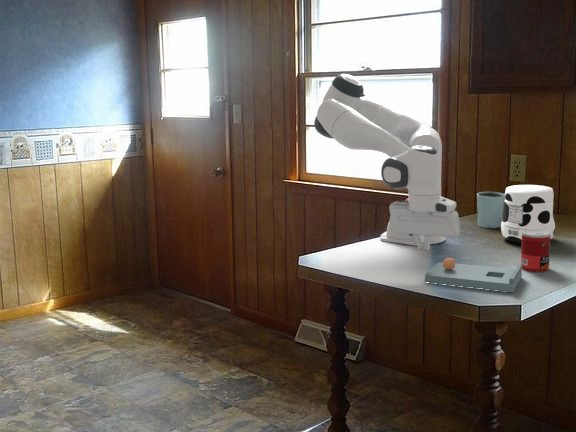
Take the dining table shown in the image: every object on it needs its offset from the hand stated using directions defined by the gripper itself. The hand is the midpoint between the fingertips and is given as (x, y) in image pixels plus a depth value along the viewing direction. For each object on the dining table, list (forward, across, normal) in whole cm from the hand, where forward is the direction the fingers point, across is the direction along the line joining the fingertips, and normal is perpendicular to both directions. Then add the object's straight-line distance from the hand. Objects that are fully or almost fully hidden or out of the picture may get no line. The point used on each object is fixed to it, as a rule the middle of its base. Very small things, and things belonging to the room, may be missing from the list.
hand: (423, 249), depth 200 cm
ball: (+4, +7, 0) cm, 8 cm away
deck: (+8, +14, 0) cm, 16 cm away
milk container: (+8, +21, +50) cm, 55 cm away
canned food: (+8, +28, +18) cm, 35 cm away
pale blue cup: (+8, +5, +68) cm, 69 cm away
